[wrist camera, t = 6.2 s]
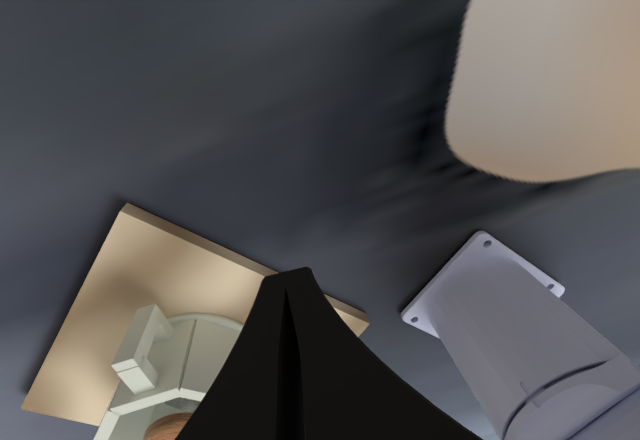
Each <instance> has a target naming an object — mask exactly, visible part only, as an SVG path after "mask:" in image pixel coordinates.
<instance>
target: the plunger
mask: <svg viewBox="0 0 640 440" xmlns="http://www.w3.org/2000/svg"><path fill="white" fill-rule="evenodd" d="M200 402H201V401H197V400H192V399H187V398H182V397H178V398H175V399H171V400H168V401H165V402H162V403H164V404H166V405H168V406H171V407H173V408H177V409H181V413H175V414H171V415H167V416H164V417H162V418H160V419H158V420H156V421H154V422H153V423H152V424H151V425H150V426H149V427H148V428H147V429H146V431H145V434H144V437H143V440H174V439H175V438H176V437H177V435H178V434H179V432H180V431H181V430H182V428H183V427H184V425H185V424H186V422H187V421H188V420H189V418H190V417H191V415H192V414H193V412H194V411H195V410H196V408H197V407H198V405H199V404H200Z"/></svg>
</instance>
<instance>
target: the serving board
mask: <svg viewBox="0 0 640 440" xmlns="http://www.w3.org/2000/svg"><path fill="white" fill-rule="evenodd" d="M273 274H278V272H276V271H274V270H272V269H269V268H267V267H265V266H263V265H261V264H259V263H256V262H254V261H252V260H250V259H248V258H246V257H244V256H241V255H239V254H237V253H235V252H233V251H231V250H228V249H226V248H224V247H222V246H220V245H218V244H216V243H213V242H211V241H209V240H207V239H205V238H203V237H200V236H198V235H196V234H194V233H192V232H190V231H188V230H185V229H183V228H181V227H179V226H177V225H175V224H172V223H170V222H168V221H166V220H164V219H162V218H160V217H157V216H155V215H153V214H151V213H149V212H147V211H144V210H142V209H140V208H138V207H136V206H134V205H132V204H129V203H126V205H125V206H124V207H123V208H122V209H121V210H120V212H119V214H118V216H117V218H116V220H115V222H114V224H113V226H112V228H111V230H110V232H109V234H108V236H107V238H106V240H105V242H104V244H103V246H102V248H101V250H100V252H99V254H98V256H97V258H96V260H95V262H94V264H93V266H92V268H91V270H90V272H89V274H88V276H87V278H86V280H85V282H84V284H83V286H82V287H81V289H80V291H79V293H78V295H77V297H76V299H75V301H74V303H73V305H72V307H71V309H70V311H69V313H68V315H67V317H66V319H65V321H64V323H63V325H62V327H61V329H60V331H59V333H58V335H57V337H56V339H55V341H54V343H53V345H52V347H51V349H50V351H49V353H48V355H47V357H46V359H45V361H44V363H43V365H42V367H41V369H40V371H39V373H38V375H37V377H36V379H35V381H34V383H33V385H32V387H31V389H30V391H29V393H28V395H27V397H26V399H25V401H24V403H23V405H22V407H21V409H23V410H28V411H32V412H37V413H42V414H46V415H51V416H55V417H60V418H64V419H69V420H73V421H78V422H82V423H87V424H91V425H96V426H99V425H100V423H101V420H102V418H103V416H104V413H105V411H106V409H107V406H108V404H109V402H110V399H111V397H112V395H113V392H114V390H115V388H116V385H117V383H118V381H119V378H120V377H119V376H118V374H117V372H116V371H115V369H114V368H113V367H112V366H111V364H112V362H113V360H114V358H115V356H116V353H117V351H118V349H119V347H120V345H121V343H122V341H123V339H124V337H125V334H126V332H127V330H128V328H129V326H130V324H131V322H132V320H133V317H134V315H135V313H136V311H137V309H139V308H142V307H146V306H149V305H152V304H155V303H156V305H157V306H158V308H159V309H160V310H161V311H162V313H163V314H164V316H165V317H169V316H173V315H177V314H183V313H196V312H199V313H212V314H218V315H222V316H226V317H229V318H232V319H235V320H237V321H239V322H241V323H243V324H245V321H246V319H247V317H248V315H249V313H250V310H251V308H252V306H253V303H254V301H255V298H256V296H257V293H258V290H259V287H260V285H261V282H262V280H263V278H264V277H265V276H269V275H273ZM324 295H325V294H324ZM325 297H326V298H327V300H328V301H329V302H330V304H331V305H332V306H333V308H334V309H335V310H336V312H337V313H338V314H339V316H340V317H341V318H342V319H343V321H344V322H345V323H346V324H347V325H348V326H349V328H350V329H351V330H352V331H353V332H354V333H355V334H356V336H357V337H358V336H359V335H360V334H361V333H362V332H363V331H364V330H365V329H366V328H367V327H368V325H369V324H370V323H369V320H368V318H367V315H366V313H364V312H362V311H360V310H358V309H356V308H353V307H351V306H349V305H347V304H345V303H343V302H340V301H338V300H336V299H334V298H332V297H330V296H328V295H325Z"/></svg>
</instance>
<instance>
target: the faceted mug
mask: <svg viewBox="0 0 640 440" xmlns="http://www.w3.org/2000/svg"><path fill="white" fill-rule="evenodd" d="M243 326H244V324H243V323H241V322H239V321H237V320H235V319H232V318H229V317H226V316H222V315H218V314H212V313H199V312H196V313H183V314H177V315H173V316H169V317H165V316H164V314H163V313H162V311H161V310H160V309H159V308H158V306H157V305H156V303H155V304H152V305H149V306H146V307H142V308H139V309H137V311H136V313H135V315H134V317H133V320H132V322H131V324H130V326H129V328H128V330H127V332H126V334H125V337H124V339H123V341H122V343H121V345H120V347H119V349H118V351H117V353H116V356H115V358H114V360H113V362H112V364H111V366H112V367H113V368H114V369H115V371H116V372H117V374H118V376H119V377H120V378H119V381H118V383H117V385H116V388H115V390H114V392H113V395H112V397H111V399H110V402H109V404H108V406H107V409H106V411H105V413H104V416H103V418H102V420H101V423H100V425H99V427H98V430H97V432H96V434H95V437H94V439H93V440H143V437H144V434H145V431H146V429H147V428H148V427H149V426H150V425H151V424H152V423H153V422H154V421H156V420H158V419H160V418H162V417H164V416H167V415H171V414H175V413H181V409H177V408H173V407H171V406H168V405H166V404H164V403H162V402H165V401H168V400H171V399H175V398H178V397H182V398H187V399H192V400H197V401H202V399H203V398H204V396H205V394H206V393H207V391H208V390H209V388H210V387H211V385H212V383H213V382H214V380H215V379H216V377H217V375H218V373H219V372H220V370H221V368H222V367H223V365H224V363H225V361H226V359H227V357H228V355H229V354H230V352H231V350H232V348H233V346H234V344H235V342H236V340H237V338H238V336H239V334H240V332H241V330H242V328H243Z"/></svg>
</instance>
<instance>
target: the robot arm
mask: <svg viewBox="0 0 640 440" xmlns="http://www.w3.org/2000/svg"><path fill="white" fill-rule="evenodd" d="M487 240H488V241H487ZM486 241H487V243H485V242H486ZM484 243H485V244H484ZM564 290H565V288H564V287H563V286H562V285H561V284H559V283H558V282H557V281H555V280H554V279H552V278H551V277H549V276H548V275H547V274H545V273H544V272H542V271H541V270H539V269H538V268H537V267H535V266H534V265H532V264H531V263H529V262H528V261H526V260H525V259H524V258H522V257H521V256H519V255H518V254H516V253H515V252H514V251H512V250H511V249H509V248H508V247H506V246H505V245H504V244H502V243H501V242H499V241H498V240H496V239H495V238H494V237H492V236H491V235H489V234H488V233H486V232H485V231H478V232H476V233H475V234H474V235H473V236H472V237H471V238H470V239H469V240H468V241H467V242H466V244H465V245H464V246H463V247H462V248H461V249H460V250H459V251H458V252H457V253H456V254H455V255H454V256H453V257H452V259H451V260H450V261H449V262H448V263H447V264H446V265H445V266H444V267H443V268H442V269H441V270H440V271H439V272H438V274H437V275H436V276H435V277H434V278H433V279H432V280H431V281H430V282H429V283H428V284H427V285H426V286H425V287H424V289H423V290H422V291H421V292H420V293H419V294H418V295H417V296H416V297H415V298H414V299H413V300H412V301H411V302H410V304H409V305H408V306H407V307H406V308H405V309H404V310H403V311H402V313H401V318H402V320H403V321H404V322H406V323H408V324H410V325H412V326H414V327H417V328H419V329H421V330H423V331H425V332H427V333H429V334H431V335H433V336H435V337H437V338H440V339H441V341H442V343H443V344H444V346H445V348H446V349H447V351H448V353H449V354H450V356H451V358H452V359H453V361H454V363H455V364H456V366H457V368H458V369H459V371H460V373H461V374H462V376H463V378H464V379H465V381H466V383H467V384H468V386H469V388H470V389H471V391H472V393H473V394H474V396H475V398H476V399H477V401H478V403H479V404H480V406H481V408H482V410H483V411H484V413H485V415H486V416H487V418H488V420H489V421H490V423H491V425H492V426H493V428H494V430H495V431H496V433H497V435H498V436H499V438H500V440H640V366H638V365H637V364H635V363H634V362H632V361H631V360H630V359H629V358H628V357H626V356H625V355H624V354H623V353H622V352H621V351H619V350H618V349H617V348H616V347H615V346H614V345H613V344H611V343H610V342H609V341H608V340H607V339H606V338H604V337H603V336H602V335H601V334H600V333H599V332H597V331H596V330H595V329H594V328H593V327H592V326H591V325H589V324H588V323H587V322H586V321H585V320H584V319H582V318H581V317H580V316H579V315H578V314H577V313H575V312H574V311H573V310H572V309H571V308H570V307H569V306H567V305H566V304H565V303H564V302H563V301H562V300H560V299H559V297H560V296H561V295H562V294H563V293H564ZM413 317H415V318H413ZM412 318H413V319H412ZM174 440H483V439H481V438H480V437H479V436H477V435H476V434H474V433H473V432H471V431H470V430H468V429H467V428H465V427H464V426H462V425H461V424H460V423H458V422H457V421H456V420H454V419H453V418H451V417H450V416H449V415H447V414H446V413H445V412H443V411H442V410H440V409H439V408H438V407H436V406H435V405H434V404H432V403H431V402H430V401H429V400H427V399H426V398H425V397H424V396H422V395H421V394H420V393H419V392H417V391H416V390H415V389H414V388H413V387H411V386H410V385H409V384H408V383H406V382H405V381H404V380H403V379H401V378H400V377H399V376H398V375H397V374H396V373H394V372H393V371H392V370H391V369H390V368H389V367H388V366H387V365H386V364H384V363H383V362H382V361H381V360H380V359H379V358H378V357H377V356H376V355H375V354H374V353H373V352H372V351H371V350H370V349H369V348H368V347H367V346H366V345H365V344H364V343H363V342H362V341H361V340H360V339H359V338H358V337H357V336H356V334H355V333H354V332H353V331H352V330H351V329H350V328H349V326H348V325H347V324H346V323H345V322H344V321H343V319H342V318H341V317H340V316H339V314H338V313H337V312H336V310H335V309H334V308H333V306H332V305H331V304H330V302H329V301H328V300H327V298H326V297H325V295H324V294H323V292H322V291H321V289H320V287H319V286H318V284H317V282H316V280H315V278H314V276H313V273H312V270H311V269H310V268H308V267H303V268H299V269H295V270H291V271H286V272H282V273H278V274H273V275H269V276H265V277H264V278H263V280H262V282H261V285H260V287H259V290H258V293H257V296H256V298H255V301H254V303H253V306H252V308H251V310H250V313H249V315H248V317H247V319H246V321H245V324H244V326H243V328H242V330H241V332H240V334H239V336H238V338H237V340H236V342H235V344H234V346H233V348H232V350H231V352H230V354H229V355H228V357H227V359H226V361H225V363H224V365H223V367H222V368H221V370H220V372H219V373H218V375H217V377H216V379H215V380H214V382H213V383H212V385H211V387H210V388H209V390H208V391H207V393H206V394H205V396H204V398H203V399H202V401H201V402H200V404H199V405H198V407H197V408H196V410H195V411H194V412H193V414H192V415H191V417H190V418H189V420H188V421H187V422H186V424H185V425H184V427H183V428H182V430H181V431H180V432H179V434H178V435H177V437H176V438H175V439H174Z"/></svg>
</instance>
